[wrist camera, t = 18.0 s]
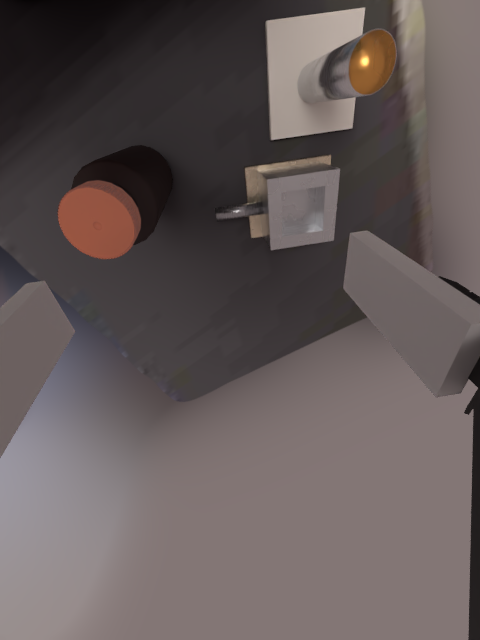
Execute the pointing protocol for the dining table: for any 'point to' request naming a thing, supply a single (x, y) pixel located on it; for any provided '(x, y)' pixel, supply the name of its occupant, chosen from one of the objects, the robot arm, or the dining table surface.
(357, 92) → the metal cylinder
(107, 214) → the bottle
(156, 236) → the dining table surface
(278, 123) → the pad
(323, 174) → the grey box
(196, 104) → the dining table surface
